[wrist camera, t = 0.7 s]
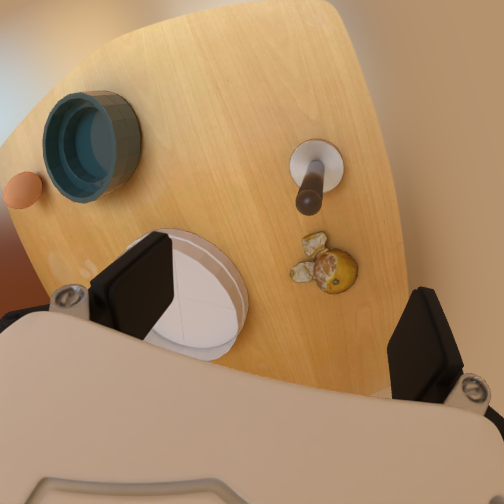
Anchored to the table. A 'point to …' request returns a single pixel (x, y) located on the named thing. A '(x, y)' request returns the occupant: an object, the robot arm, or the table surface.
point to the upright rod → (315, 173)
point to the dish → (200, 300)
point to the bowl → (90, 144)
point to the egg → (22, 190)
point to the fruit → (325, 266)
